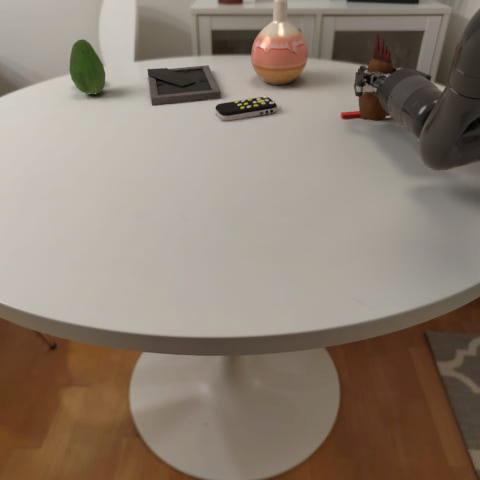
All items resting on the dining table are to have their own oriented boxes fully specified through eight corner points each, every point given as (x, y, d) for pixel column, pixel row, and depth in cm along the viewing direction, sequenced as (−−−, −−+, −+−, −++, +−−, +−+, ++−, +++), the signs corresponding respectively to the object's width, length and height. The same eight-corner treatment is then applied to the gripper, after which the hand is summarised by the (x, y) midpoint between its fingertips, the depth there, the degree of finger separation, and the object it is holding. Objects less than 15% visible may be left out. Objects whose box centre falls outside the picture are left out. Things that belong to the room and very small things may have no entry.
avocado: (100, 86, 115) (89, 33, 107) (114, 94, 111) (103, 39, 103) (70, 94, 112) (56, 39, 104) (83, 102, 107) (69, 46, 99)
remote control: (214, 112, 100) (213, 103, 98) (268, 103, 103) (268, 94, 101) (222, 122, 95) (222, 112, 94) (278, 113, 98) (279, 103, 97)
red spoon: (421, 105, 99) (422, 100, 98) (432, 115, 95) (433, 110, 94) (337, 112, 97) (338, 107, 97) (345, 122, 93) (346, 117, 93)
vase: (240, 81, 115) (237, 0, 103) (278, 69, 121) (279, -9, 110) (279, 94, 107) (281, 7, 95) (317, 80, 114) (323, -3, 102)
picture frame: (148, 77, 120) (152, 105, 104) (147, 69, 118) (150, 96, 103) (208, 71, 122) (221, 98, 106) (208, 63, 120) (220, 89, 105)
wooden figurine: (352, 114, 94) (362, 32, 84) (378, 111, 94) (392, 30, 85) (364, 126, 89) (377, 41, 79) (392, 123, 89) (409, 39, 80)
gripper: (458, 72, 73) (413, 46, 86) (372, 79, 72) (340, 51, 85) (445, 119, 78) (405, 87, 91) (365, 125, 77) (335, 93, 90)
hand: (374, 70), depth 88 cm, fingers closed on wooden figurine, 4 cm apart
